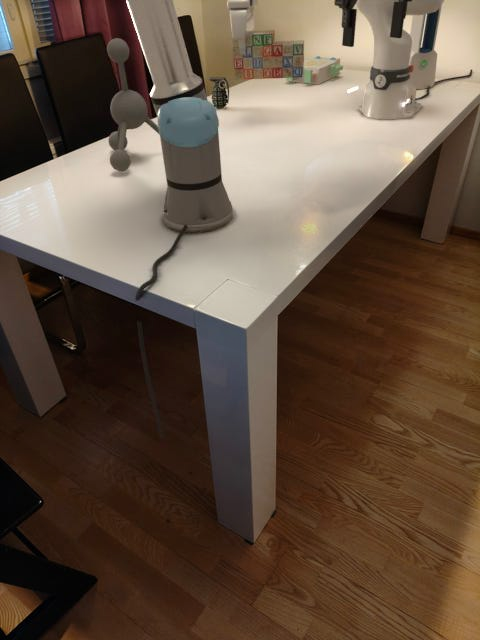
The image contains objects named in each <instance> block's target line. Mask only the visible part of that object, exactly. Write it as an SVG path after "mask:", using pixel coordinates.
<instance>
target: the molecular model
mask: <svg viewBox="0 0 480 640" xmlns="http://www.w3.org/2000/svg"><path fill="white" fill-rule="evenodd" d="M106 52H107V55H108V57H109V59H110V60H111V61H112V62H114V63H115V64H117V68H118V73H119V79H120V85H121V89H122V90H120V91H118V92H117V93H116V94H115V95H114V96H113V97H112V99H111V102H110V115H111V117H112V119H113V120H114V122H115V123H116V124H117V125H118V127H117V131H113V132H111V133H110V134H109V136H108V138H107V139H108V145H109V147H110V148H111V149H112V150H113V152H111V154H110V156H109V163H110V166H111V167H112V169H114V170H115V171H117V172H126V171H128V169H129V168H130V167H131V164H132V158H131V156H130V154H129V153H128V152H127V151H126V148H127V147H128V137H127V130H134V129H138V128H140V127H141V126H143V124H144V123H146V124H147V125H148V126H149V127H150V128H151V129H153V130H154V131H155V132H156V133H157V134H158V135H159V136H160V133H159V131H158V126H157V123H155V122H154V121H153V120H152V118H150V117H149V116H148V104H147V102H146V101H145V99H144V97H143V96H142V95H141V94H140V93H139V92H137V91H134V90H132V89H129V86H128V81H127V73H126V69H125V62H126V61H127V60H128V59H129V56H130V48H129V45H128V43H127V42H126V41H125V40H124V39H122V38H119V37H118V38H117V37H115V38H112V39H111V40H109V42H108V44H107V46H106Z"/></svg>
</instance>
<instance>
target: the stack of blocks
mask: <svg viewBox="0 0 480 640" xmlns="http://www.w3.org/2000/svg"><path fill="white" fill-rule="evenodd" d="M275 40H276V39H275V30H274V29H271V30H252V31H251V32H250V33H249V34H248V36H247V37H246V41H245V45H246V53H245V54H240V51H239V44H238V40H235V39H233V36H232V35H231V42H232V43H231V44H232V47H231V48H232V59H233V61H232V63H233V75H234V80H235V81H236V80H237V81H238V80H264V79H286V78H301V77H303V73H304V60H305V40H304V39H300V40H299V39H297V40H277V41H275Z"/></svg>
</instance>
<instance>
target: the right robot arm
mask: <svg viewBox="0 0 480 640" xmlns="http://www.w3.org/2000/svg"><path fill="white" fill-rule="evenodd" d="M226 1H227V2H226V9H228V10H229V20H230V29H231V37H232V36H233V39H235V40H238V44H239V51H240V54H245V53H246V45H245V41H246V37H247V36H248V34H249V33H250V32H251V31H254V29H255V13H254V12H255V6H257V5H259V0H226ZM394 2H399V1H398V0H358V1H357V2H356V4H355V6H356V9H357V10H358V11H359V12H360V13H361V14H362V15H363V17H365V18H366V20H367V21H368V23H369V26H370V27H371V31H372V35H373V57H372V58H373V59H372V65H371V67H370V72H369V82H368V83H366V85H365V89H364V93H363V100H362V105H360V106H359V107H358V111H359V112H361V113H362V115H363V116H364V117H367V118H370V119H376V120H398V119H411V118H413V117H414V116H415V114H416V113H417V112H418V111H419V110H420V109H421V108H422V103H420V102H419V101H417V100H422V99H425V98H426V97H427V96H429V95H430V89H431V88H430V86H428V88H426V94H424V95H422V96H421V97H418V98H416V97H417V89H416V88H415V87H414V86H413V84H412V83H411V81H410V80H409V78H410V72H413V69H414V67H413V65H411V66H409V61H410V55H411V48H412V38H411V36H410V33H409V32H407V30H405V29H403V30H402V38H392V37H390V31H391V23H392V14H393V6H394ZM444 2H445V0H412V1H411V2H408V4H407V10H406V16H413V15H424V14H426V15H427V14H428V13H432V12H436V11H437V10H438V9H439V8H440V7H441V5H442V6H443V4H444ZM441 8H442V7H441ZM472 74H473V69H470V71H469V74H465V75H461V76H460V75H459V76H453V77H448V78H443V79H439V80H437V81H436V80H435V83H434V85H437V84H440V83H443V82H448V81H453V80H459V79H465V78H469V77H470V76H472ZM358 89H359V86H354V87H351V88H350V89H347V94H349V93H352V92H355V91H357V90H358Z"/></svg>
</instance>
